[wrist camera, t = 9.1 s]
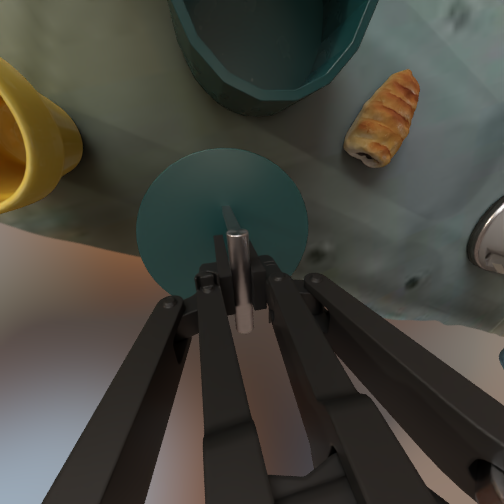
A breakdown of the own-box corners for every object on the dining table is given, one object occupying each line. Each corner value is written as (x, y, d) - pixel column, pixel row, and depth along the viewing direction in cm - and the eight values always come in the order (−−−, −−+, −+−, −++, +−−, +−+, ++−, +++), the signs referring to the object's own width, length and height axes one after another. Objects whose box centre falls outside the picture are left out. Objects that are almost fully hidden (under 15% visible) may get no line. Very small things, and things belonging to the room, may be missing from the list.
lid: (308, 144, 18) (388, 137, 10) (299, 290, 25) (342, 353, 17) (114, 152, 15) (24, 152, 8) (162, 313, 22) (140, 400, 14)
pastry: (379, 61, 23) (410, 45, 19) (418, 94, 25) (452, 84, 22) (335, 149, 26) (355, 149, 22) (374, 171, 28) (397, 174, 25)
